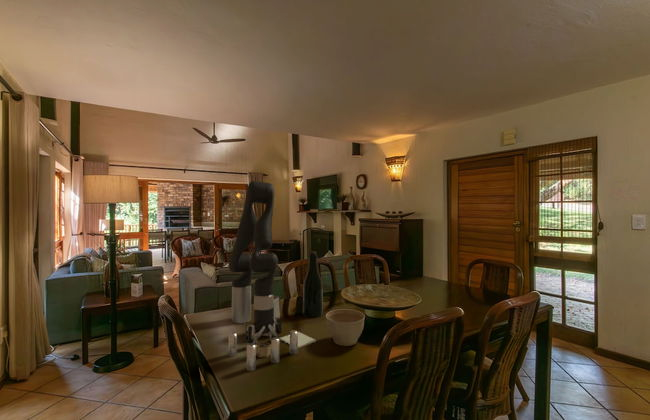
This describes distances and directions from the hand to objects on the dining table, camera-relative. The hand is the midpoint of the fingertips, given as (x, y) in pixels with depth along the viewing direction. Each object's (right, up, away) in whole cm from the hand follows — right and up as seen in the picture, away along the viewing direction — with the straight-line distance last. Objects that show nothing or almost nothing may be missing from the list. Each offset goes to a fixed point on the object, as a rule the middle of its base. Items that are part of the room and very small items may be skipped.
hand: (263, 349), depth 116 cm
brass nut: (0, -2, 0) cm, 2 cm away
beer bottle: (+17, -3, +45) cm, 48 cm away
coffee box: (-2, -2, +20) cm, 20 cm away
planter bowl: (+31, -2, +11) cm, 34 cm away
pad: (+12, -2, +12) cm, 17 cm away
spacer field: (0, -2, 0) cm, 2 cm away
